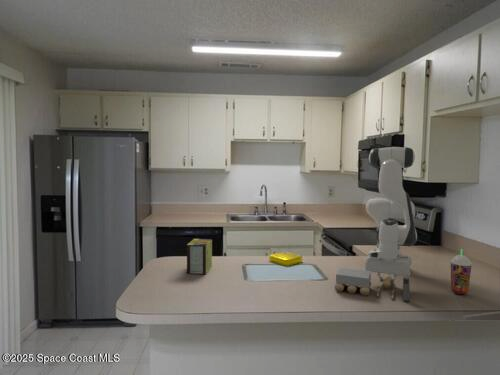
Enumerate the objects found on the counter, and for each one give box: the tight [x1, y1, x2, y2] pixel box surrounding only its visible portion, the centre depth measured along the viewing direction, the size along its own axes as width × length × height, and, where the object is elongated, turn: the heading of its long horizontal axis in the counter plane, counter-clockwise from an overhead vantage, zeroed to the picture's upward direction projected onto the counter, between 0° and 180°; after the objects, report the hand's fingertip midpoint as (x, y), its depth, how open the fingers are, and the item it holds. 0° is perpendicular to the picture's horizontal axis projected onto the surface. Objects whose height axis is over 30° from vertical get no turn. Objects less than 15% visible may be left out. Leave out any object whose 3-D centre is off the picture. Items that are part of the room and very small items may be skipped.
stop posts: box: [402, 277, 411, 303], centre depth 154 cm, size 11×2×7 cm, turn 157°
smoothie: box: [449, 248, 473, 295], centre depth 162 cm, size 8×8×20 cm
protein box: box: [186, 238, 213, 275], centre depth 191 cm, size 10×15×16 cm
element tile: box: [268, 251, 303, 267], centre depth 210 cm, size 15×15×5 cm
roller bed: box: [334, 281, 395, 301], centre depth 161 cm, size 12×25×4 cm, turn 67°
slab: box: [335, 267, 372, 288], centre depth 163 cm, size 12×14×4 cm
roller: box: [381, 274, 393, 291], centre depth 170 cm, size 12×4×4 cm, turn 157°
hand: (386, 282), depth 170 cm, fingers closed on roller, 4 cm apart
